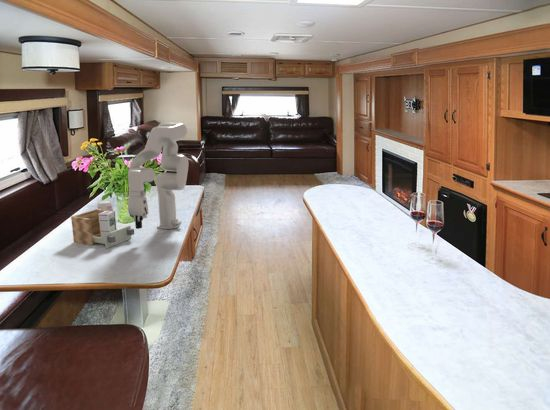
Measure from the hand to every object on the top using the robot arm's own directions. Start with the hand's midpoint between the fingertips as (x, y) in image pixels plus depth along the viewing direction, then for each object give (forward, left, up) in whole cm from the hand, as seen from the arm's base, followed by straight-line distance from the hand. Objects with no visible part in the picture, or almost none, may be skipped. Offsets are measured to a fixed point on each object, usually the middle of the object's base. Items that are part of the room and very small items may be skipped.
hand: (138, 228), depth 265 cm
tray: (+13, +6, -7) cm, 16 cm away
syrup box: (+14, +8, -6) cm, 17 cm away
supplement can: (+37, -14, -8) cm, 40 cm away
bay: (+25, +6, -8) cm, 27 cm away
